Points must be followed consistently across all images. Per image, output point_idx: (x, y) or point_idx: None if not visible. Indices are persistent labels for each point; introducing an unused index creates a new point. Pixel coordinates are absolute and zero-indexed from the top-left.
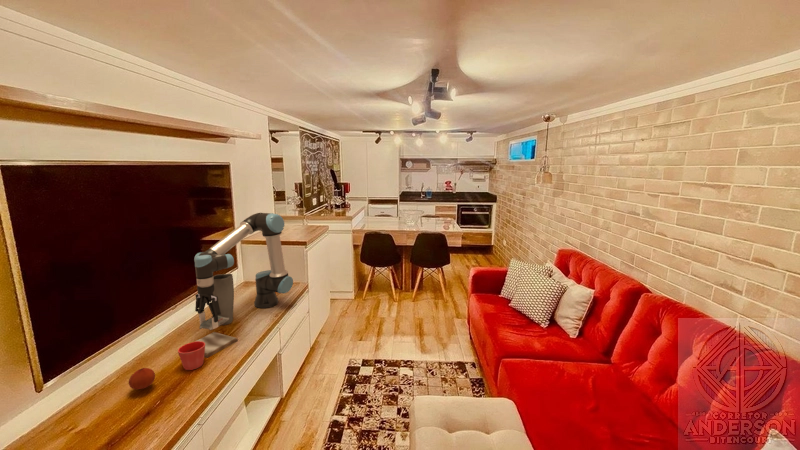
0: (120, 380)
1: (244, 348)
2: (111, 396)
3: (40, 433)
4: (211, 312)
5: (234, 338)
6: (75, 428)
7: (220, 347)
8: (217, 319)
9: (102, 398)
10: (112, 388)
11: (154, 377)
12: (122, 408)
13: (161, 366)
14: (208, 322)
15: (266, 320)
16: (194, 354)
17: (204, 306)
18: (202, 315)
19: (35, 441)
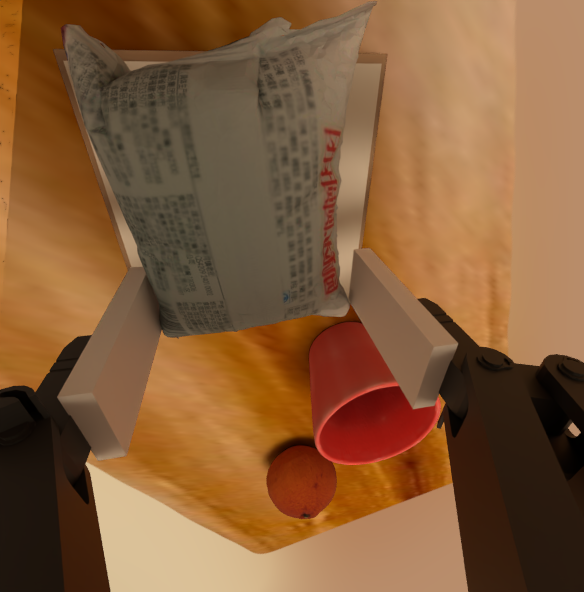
0: (194, 476)
1: (491, 129)
2: (263, 491)
3: (269, 543)
4: (456, 480)
5: (377, 82)
6: (313, 521)
7: (361, 222)
8: (446, 325)
9: (251, 499)
10: (223, 488)
11: (327, 461)
12: (338, 483)
13: (223, 405)
14: (272, 321)
15: None
16: (415, 418)
17: (67, 582)
18: (125, 389)
19: (286, 544)
